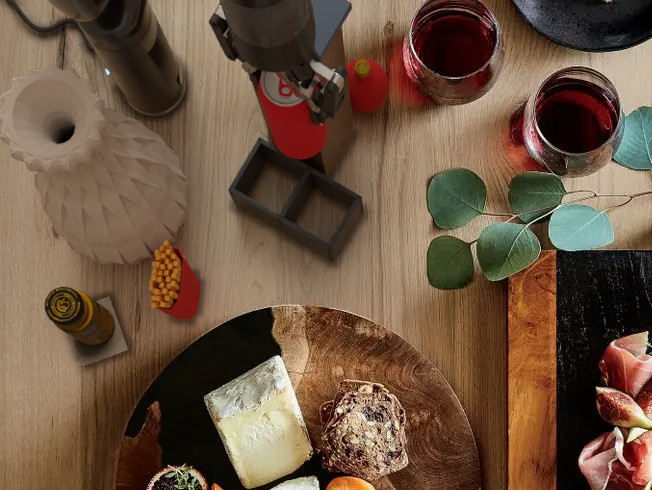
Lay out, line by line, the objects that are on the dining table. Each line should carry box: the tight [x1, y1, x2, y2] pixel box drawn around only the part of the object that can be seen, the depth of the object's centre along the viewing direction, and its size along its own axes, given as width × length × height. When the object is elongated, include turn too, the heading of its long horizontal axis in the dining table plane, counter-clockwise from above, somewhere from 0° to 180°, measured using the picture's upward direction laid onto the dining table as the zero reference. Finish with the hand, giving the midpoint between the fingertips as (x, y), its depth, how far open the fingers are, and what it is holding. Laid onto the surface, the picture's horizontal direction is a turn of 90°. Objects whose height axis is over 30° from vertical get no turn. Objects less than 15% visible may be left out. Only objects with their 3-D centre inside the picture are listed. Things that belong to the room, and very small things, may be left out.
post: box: [251, 25, 355, 178], centre depth 107 cm, size 9×8×30 cm
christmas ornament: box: [346, 57, 389, 114], centre depth 117 cm, size 7×7×10 cm
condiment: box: [44, 286, 129, 367], centre depth 116 cm, size 7×8×12 cm
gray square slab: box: [312, 0, 353, 61], centre depth 91 cm, size 11×10×1 cm
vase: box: [0, 63, 188, 266], centre depth 107 cm, size 20×20×30 cm
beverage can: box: [258, 71, 328, 159], centre depth 88 cm, size 6×6×12 cm
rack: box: [227, 136, 365, 264], centre depth 119 cm, size 17×9×6 cm, turn 60°
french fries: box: [148, 240, 201, 321], centre depth 116 cm, size 9×4×13 cm, turn 173°
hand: (291, 100), depth 86 cm, fingers closed on beverage can, 6 cm apart
